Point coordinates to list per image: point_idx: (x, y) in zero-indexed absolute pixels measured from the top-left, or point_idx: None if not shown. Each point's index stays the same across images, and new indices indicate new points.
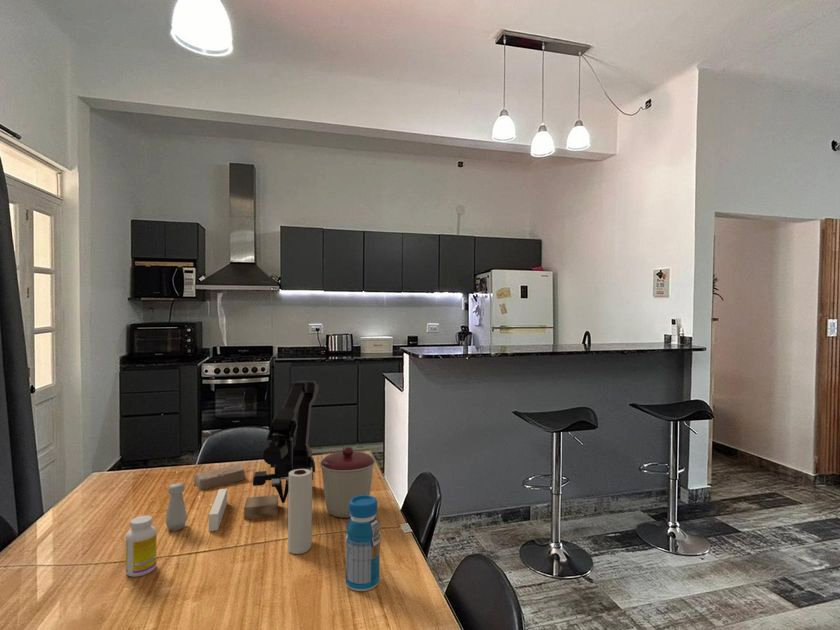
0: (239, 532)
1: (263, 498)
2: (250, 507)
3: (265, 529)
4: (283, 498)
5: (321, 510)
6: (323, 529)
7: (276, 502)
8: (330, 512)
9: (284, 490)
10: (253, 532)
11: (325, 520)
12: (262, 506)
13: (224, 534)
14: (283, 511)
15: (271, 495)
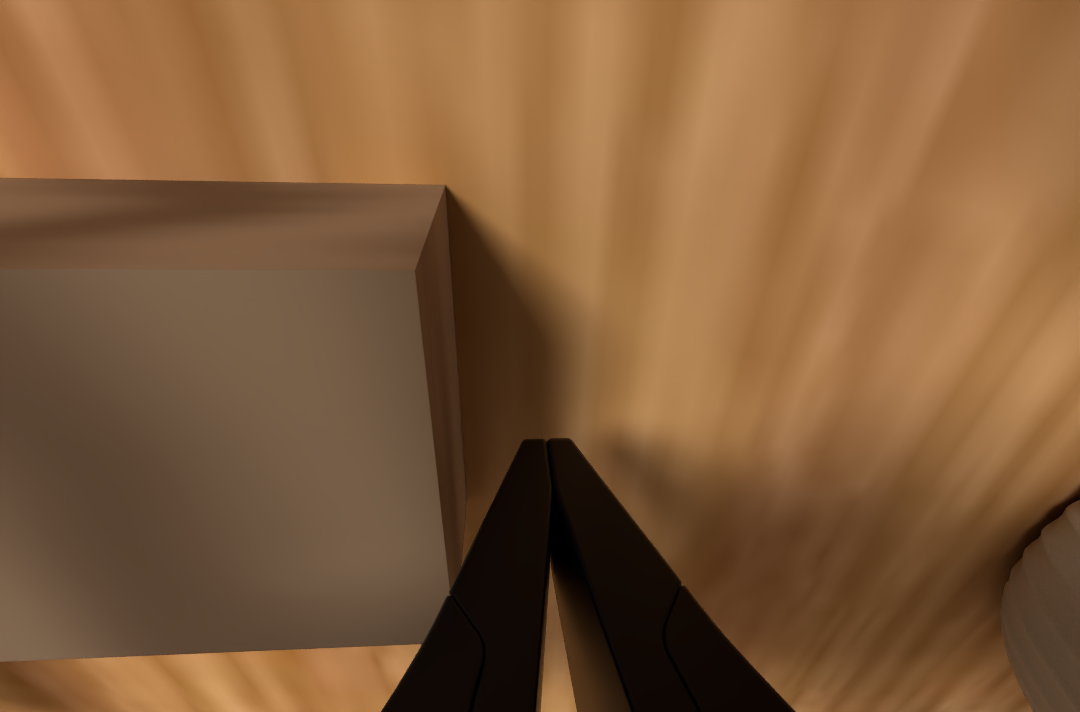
0: (170, 685)
1: (74, 414)
2: (29, 654)
3: (388, 673)
4: (553, 581)
5: (985, 467)
6: (815, 706)
7: (430, 593)
8: (1004, 641)
9: (596, 697)
10: (297, 693)
11: (896, 625)
12: (224, 641)
13: (46, 694)
14: (540, 409)
15: (219, 270)
